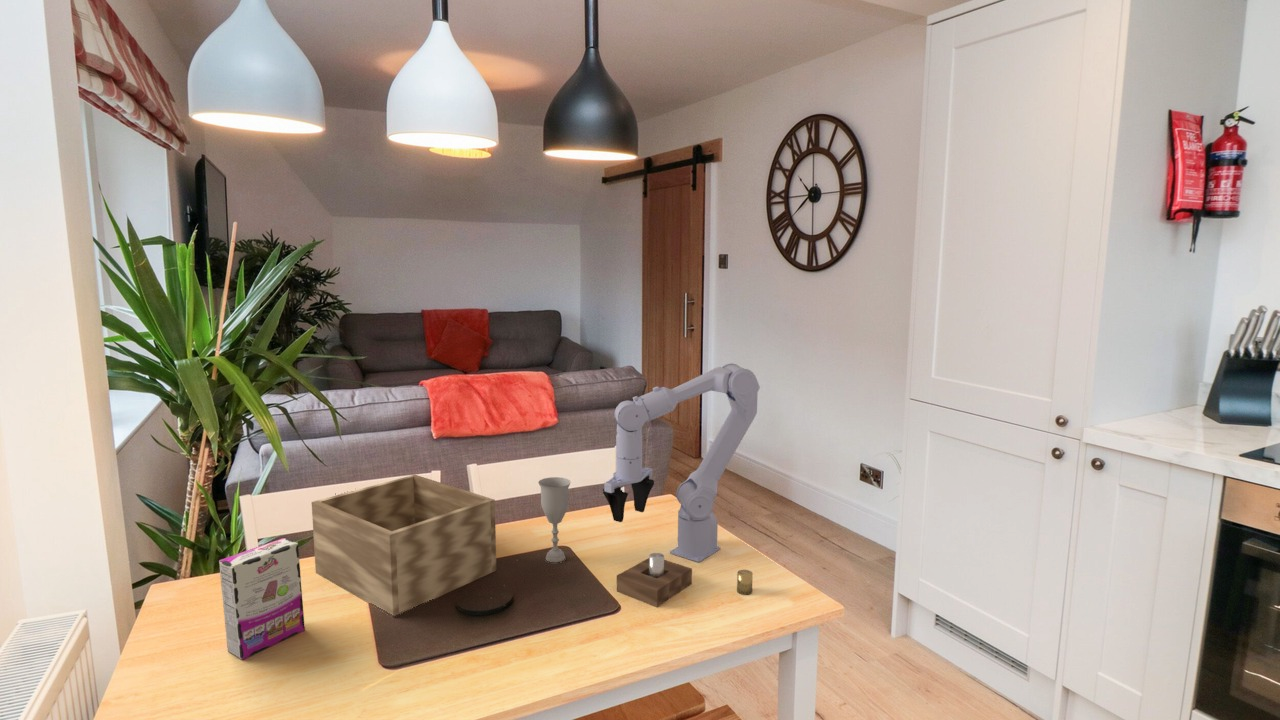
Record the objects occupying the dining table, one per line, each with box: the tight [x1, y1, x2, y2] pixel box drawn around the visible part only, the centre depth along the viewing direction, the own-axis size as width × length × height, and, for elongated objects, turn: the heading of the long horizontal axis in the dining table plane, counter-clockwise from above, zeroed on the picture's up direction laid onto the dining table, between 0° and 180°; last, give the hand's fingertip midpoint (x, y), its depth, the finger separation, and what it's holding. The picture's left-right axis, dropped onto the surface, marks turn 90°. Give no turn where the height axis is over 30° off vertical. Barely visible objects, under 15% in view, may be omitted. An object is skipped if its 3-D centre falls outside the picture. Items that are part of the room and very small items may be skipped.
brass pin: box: [736, 569, 754, 596], centre depth 134 cm, size 3×3×4 cm
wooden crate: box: [311, 474, 497, 615], centre depth 140 cm, size 24×28×16 cm
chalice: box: [537, 476, 572, 562], centre depth 147 cm, size 7×7×18 cm
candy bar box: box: [218, 537, 306, 660], centre depth 114 cm, size 11×5×16 cm, turn 148°
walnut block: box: [616, 557, 693, 608], centre depth 135 cm, size 12×10×4 cm
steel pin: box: [648, 552, 665, 578], centre depth 135 cm, size 3×3×7 cm
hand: (629, 515), depth 148 cm, fingers open, 7 cm apart
